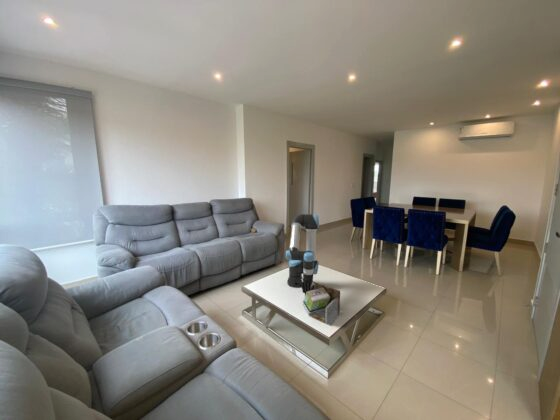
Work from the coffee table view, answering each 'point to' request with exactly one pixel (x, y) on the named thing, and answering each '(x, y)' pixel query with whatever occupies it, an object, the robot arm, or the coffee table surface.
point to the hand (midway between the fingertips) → (307, 302)
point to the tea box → (316, 300)
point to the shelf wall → (333, 294)
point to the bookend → (332, 311)
